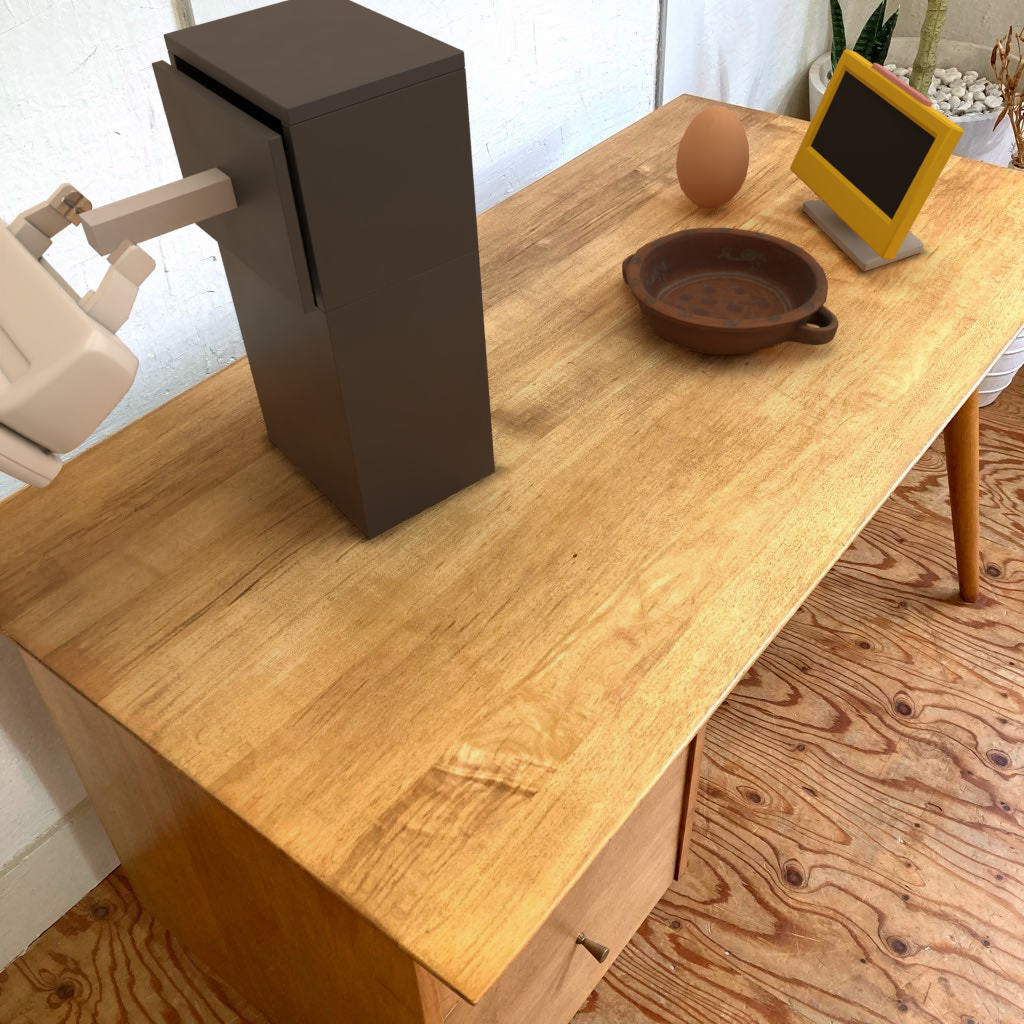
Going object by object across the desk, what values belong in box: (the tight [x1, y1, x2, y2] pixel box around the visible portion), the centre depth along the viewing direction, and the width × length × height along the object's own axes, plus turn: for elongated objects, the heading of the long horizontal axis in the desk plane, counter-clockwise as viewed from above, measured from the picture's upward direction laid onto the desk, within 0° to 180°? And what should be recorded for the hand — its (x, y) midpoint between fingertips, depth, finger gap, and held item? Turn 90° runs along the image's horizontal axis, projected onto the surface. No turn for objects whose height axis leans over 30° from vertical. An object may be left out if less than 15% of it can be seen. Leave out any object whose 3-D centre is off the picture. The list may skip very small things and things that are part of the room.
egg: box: [675, 105, 750, 210], centre depth 111 cm, size 8×8×11 cm
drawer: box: [78, 59, 316, 314], centre depth 66 cm, size 21×16×11 cm
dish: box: [621, 227, 839, 356], centre depth 97 cm, size 18×22×5 cm
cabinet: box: [163, 0, 496, 540], centre depth 75 cm, size 12×16×33 cm
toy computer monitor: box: [789, 48, 964, 272], centre depth 104 cm, size 20×8×16 cm, turn 14°
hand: (110, 220), depth 62 cm, fingers open, 8 cm apart
